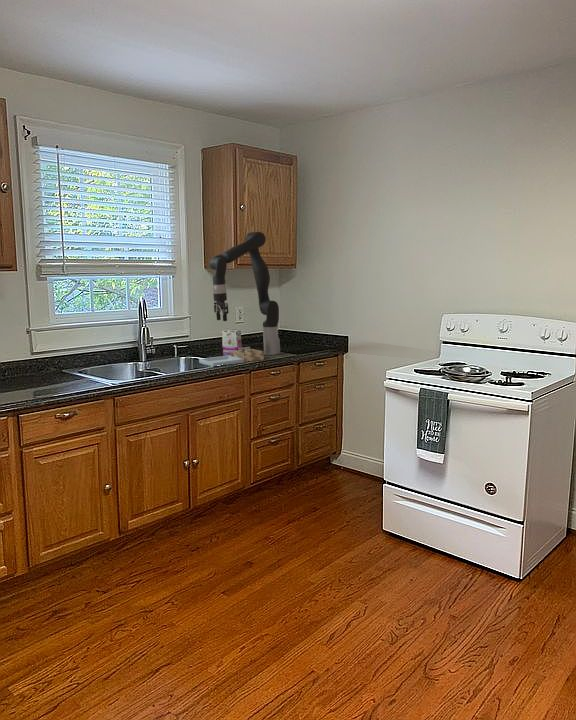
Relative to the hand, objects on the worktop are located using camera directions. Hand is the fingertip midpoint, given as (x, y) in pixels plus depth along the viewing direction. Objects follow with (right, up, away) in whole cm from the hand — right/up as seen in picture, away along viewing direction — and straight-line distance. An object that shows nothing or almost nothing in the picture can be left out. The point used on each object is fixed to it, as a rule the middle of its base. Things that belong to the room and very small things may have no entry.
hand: (221, 320), depth 351 cm
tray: (0, -25, -1) cm, 25 cm away
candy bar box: (+4, -21, +19) cm, 29 cm away
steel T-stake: (+13, -22, +11) cm, 28 cm away
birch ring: (+15, -23, +8) cm, 28 cm away
